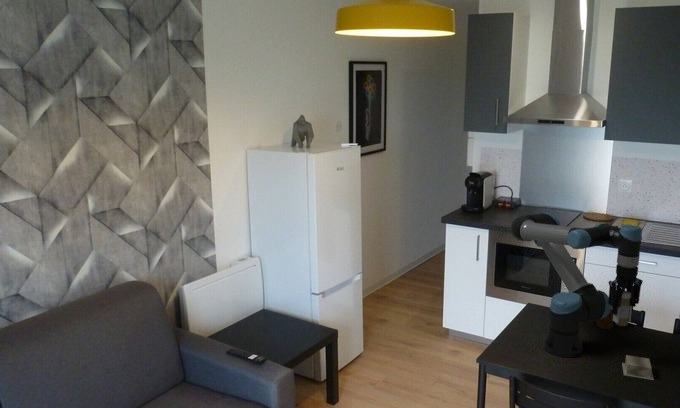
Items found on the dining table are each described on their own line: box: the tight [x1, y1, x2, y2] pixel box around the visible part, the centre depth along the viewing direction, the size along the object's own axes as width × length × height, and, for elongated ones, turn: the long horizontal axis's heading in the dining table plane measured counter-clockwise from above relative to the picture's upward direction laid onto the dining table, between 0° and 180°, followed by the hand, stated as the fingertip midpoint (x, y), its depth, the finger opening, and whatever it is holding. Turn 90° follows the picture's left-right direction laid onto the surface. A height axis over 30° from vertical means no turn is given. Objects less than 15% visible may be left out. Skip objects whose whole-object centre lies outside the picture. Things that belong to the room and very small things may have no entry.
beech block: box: [624, 354, 652, 378], centre depth 217 cm, size 8×8×4 cm
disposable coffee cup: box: [596, 306, 614, 330], centre depth 257 cm, size 10×10×12 cm
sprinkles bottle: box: [615, 290, 631, 327], centre depth 223 cm, size 5×5×14 cm
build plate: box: [621, 362, 655, 381], centre depth 218 cm, size 10×10×1 cm
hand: (621, 321), depth 225 cm, fingers closed on sprinkles bottle, 4 cm apart
